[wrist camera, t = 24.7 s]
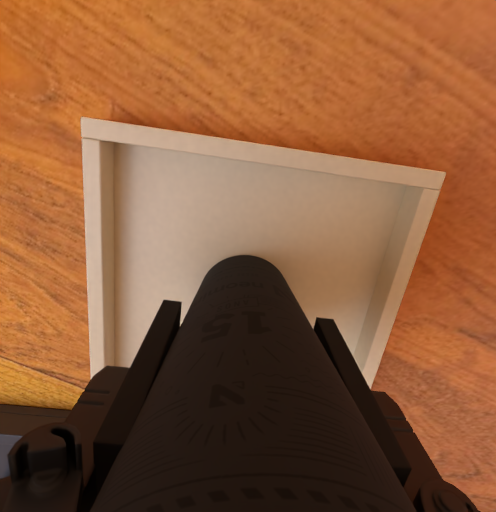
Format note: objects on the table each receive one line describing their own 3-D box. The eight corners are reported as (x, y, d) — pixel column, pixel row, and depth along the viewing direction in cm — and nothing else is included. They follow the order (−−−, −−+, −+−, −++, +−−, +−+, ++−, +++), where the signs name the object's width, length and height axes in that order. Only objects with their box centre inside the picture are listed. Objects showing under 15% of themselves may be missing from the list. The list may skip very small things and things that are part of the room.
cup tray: (101, 119, 14) (79, 115, 12) (421, 168, 15) (447, 172, 13) (106, 384, 20) (91, 411, 18) (344, 407, 21) (355, 435, 19)
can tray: (-70, 397, 20) (-104, 425, 18) (146, 416, 21) (136, 445, 19) (-30, 547, 25) (-53, 581, 23) (140, 557, 26) (132, 591, 24)
